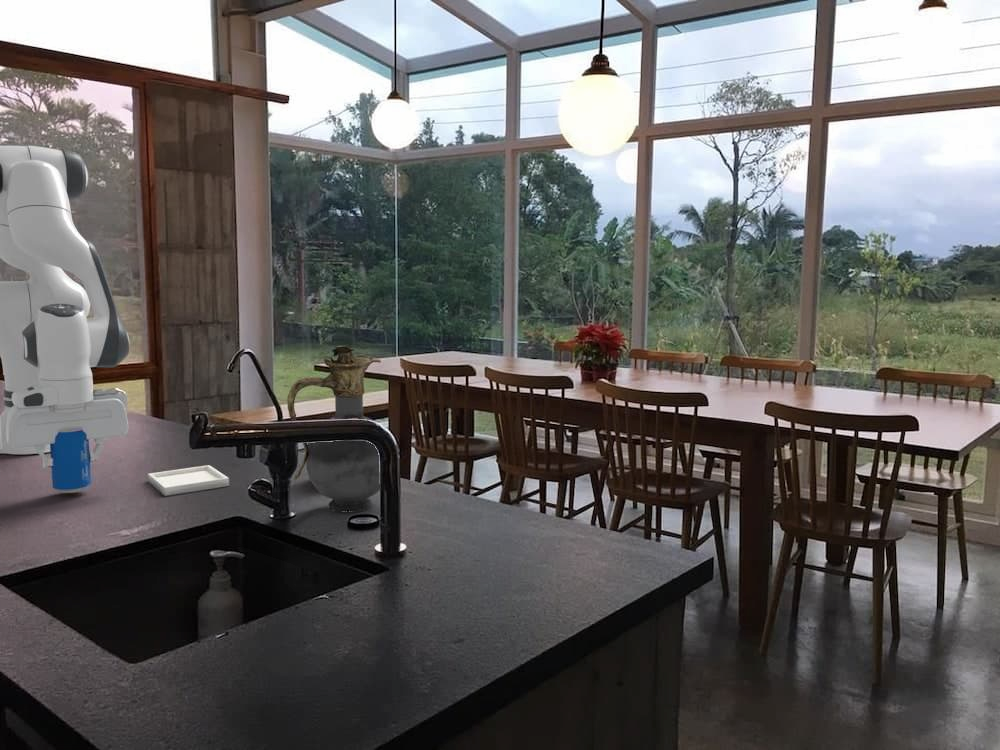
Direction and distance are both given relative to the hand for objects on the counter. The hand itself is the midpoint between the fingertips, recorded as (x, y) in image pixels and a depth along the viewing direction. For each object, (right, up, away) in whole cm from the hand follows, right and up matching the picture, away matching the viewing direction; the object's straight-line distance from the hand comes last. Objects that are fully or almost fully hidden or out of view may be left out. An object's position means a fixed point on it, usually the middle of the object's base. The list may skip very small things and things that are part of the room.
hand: (71, 463), depth 153 cm
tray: (+19, -5, +9) cm, 21 cm away
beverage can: (0, -5, +1) cm, 5 cm away
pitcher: (+52, -8, -5) cm, 53 cm away
